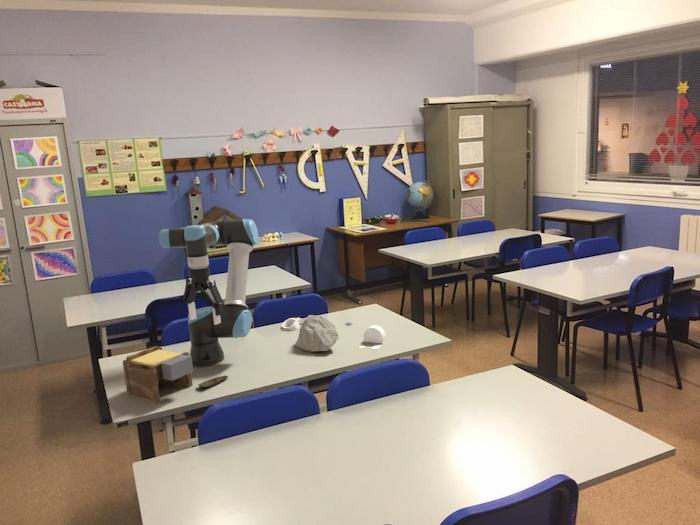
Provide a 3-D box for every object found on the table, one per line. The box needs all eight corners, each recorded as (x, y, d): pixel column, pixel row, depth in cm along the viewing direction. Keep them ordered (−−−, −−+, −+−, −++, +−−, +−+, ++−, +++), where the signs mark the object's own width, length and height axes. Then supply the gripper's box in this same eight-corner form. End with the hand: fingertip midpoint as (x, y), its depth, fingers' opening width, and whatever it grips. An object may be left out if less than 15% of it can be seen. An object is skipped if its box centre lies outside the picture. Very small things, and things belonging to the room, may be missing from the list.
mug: (296, 344, 285) (288, 329, 281) (286, 341, 291) (278, 326, 287) (312, 329, 292) (305, 314, 287) (302, 326, 298) (294, 312, 294)
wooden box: (163, 379, 234) (159, 344, 231) (192, 386, 224) (188, 350, 222) (127, 395, 220) (122, 358, 217) (156, 403, 210) (151, 365, 208)
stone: (204, 391, 218) (203, 385, 218) (196, 389, 221) (195, 383, 221) (230, 379, 228) (229, 374, 228) (222, 377, 232) (221, 372, 231)
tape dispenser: (392, 344, 268) (391, 321, 266) (377, 356, 252) (375, 333, 250) (373, 342, 272) (372, 320, 270) (357, 354, 256) (356, 331, 254)
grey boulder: (344, 349, 256) (342, 317, 253) (326, 359, 246) (323, 325, 243) (306, 342, 269) (304, 311, 266) (287, 350, 259) (285, 319, 256)
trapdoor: (160, 362, 229) (158, 347, 228) (196, 370, 218) (194, 355, 217) (133, 373, 218) (130, 358, 217) (169, 382, 207) (167, 366, 206)
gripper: (169, 266, 217) (175, 320, 221) (214, 271, 203) (220, 328, 207) (184, 262, 223) (191, 315, 227) (229, 267, 209) (235, 322, 213)
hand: (205, 321), depth 217 cm, fingers open, 13 cm apart
